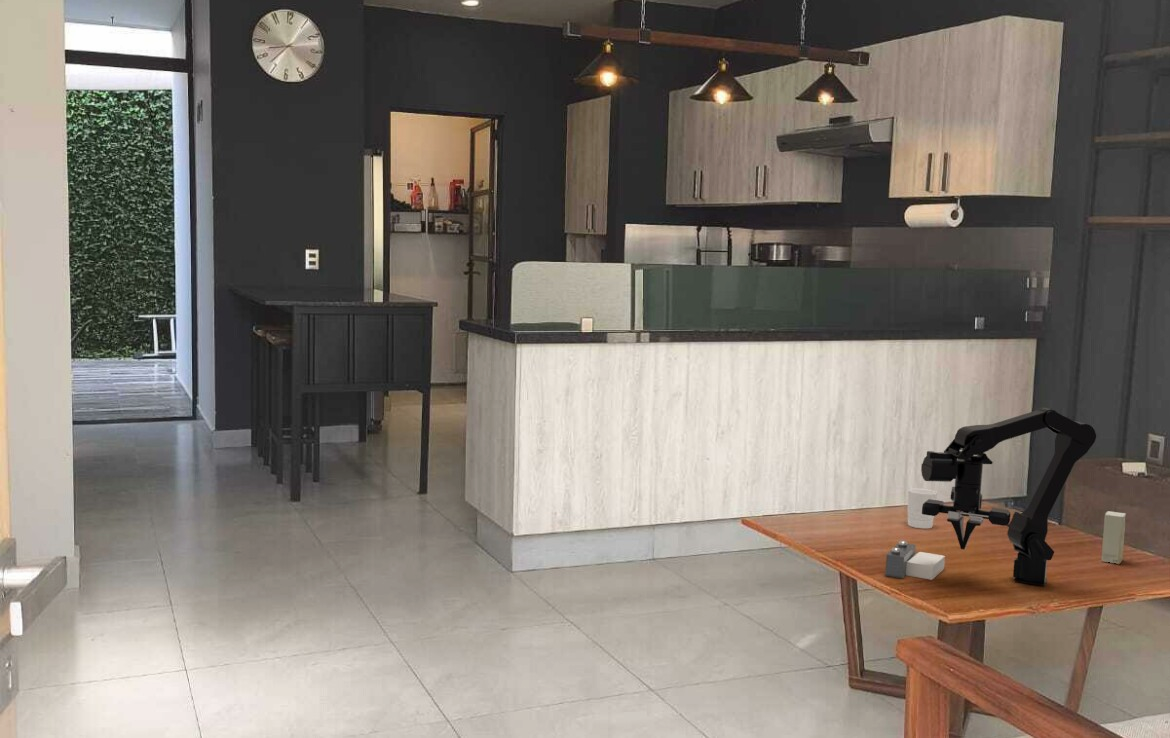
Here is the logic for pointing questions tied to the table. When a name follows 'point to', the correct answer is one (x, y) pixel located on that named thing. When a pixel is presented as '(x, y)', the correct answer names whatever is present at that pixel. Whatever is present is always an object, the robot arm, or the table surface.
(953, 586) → the table surface
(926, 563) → the white rectangular block
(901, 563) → the stop bar
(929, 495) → the white cup
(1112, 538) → the skincare box
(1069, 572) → the table surface
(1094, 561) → the table surface
